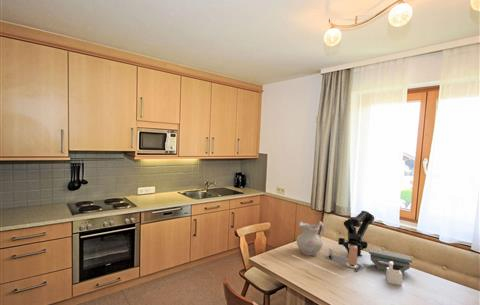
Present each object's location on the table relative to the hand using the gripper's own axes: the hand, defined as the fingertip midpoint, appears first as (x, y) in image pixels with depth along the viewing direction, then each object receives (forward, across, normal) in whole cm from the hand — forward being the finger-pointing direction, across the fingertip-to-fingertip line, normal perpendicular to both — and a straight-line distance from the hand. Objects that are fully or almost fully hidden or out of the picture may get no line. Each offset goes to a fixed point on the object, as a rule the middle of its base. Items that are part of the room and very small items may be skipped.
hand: (353, 254), depth 171 cm
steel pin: (-1, -14, +12) cm, 18 cm away
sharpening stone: (+1, +24, +12) cm, 26 cm away
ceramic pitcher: (-2, -29, +14) cm, 33 cm away
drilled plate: (+3, -5, +9) cm, 11 cm away
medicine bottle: (+14, +23, -1) cm, 27 cm away
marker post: (+4, 0, +6) cm, 7 cm away
